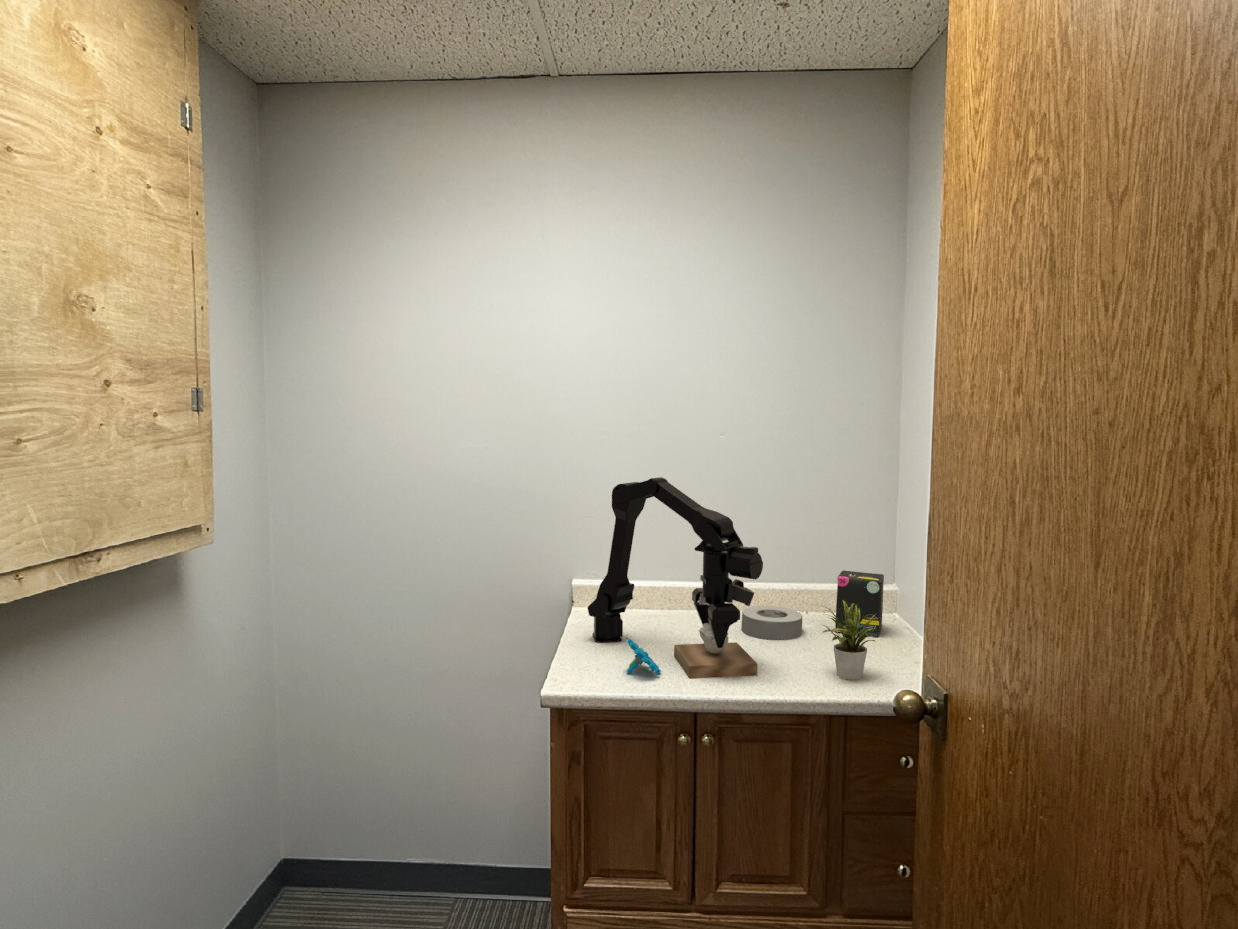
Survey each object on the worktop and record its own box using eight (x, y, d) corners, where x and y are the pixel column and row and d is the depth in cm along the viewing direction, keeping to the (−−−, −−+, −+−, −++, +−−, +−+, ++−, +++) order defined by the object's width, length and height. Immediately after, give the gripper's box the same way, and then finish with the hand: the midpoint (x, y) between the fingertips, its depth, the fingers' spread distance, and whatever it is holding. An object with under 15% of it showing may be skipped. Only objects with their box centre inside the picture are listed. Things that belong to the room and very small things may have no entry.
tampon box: (834, 632, 206) (836, 576, 205) (839, 623, 214) (841, 569, 213) (879, 638, 202) (881, 581, 201) (882, 628, 210) (884, 573, 209)
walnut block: (689, 682, 171) (689, 666, 171) (673, 659, 186) (674, 644, 186) (756, 679, 173) (757, 663, 173) (736, 657, 188) (736, 642, 188)
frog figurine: (693, 651, 181) (694, 620, 181) (721, 648, 183) (722, 618, 183) (705, 659, 175) (706, 627, 175) (734, 656, 178) (734, 625, 177)
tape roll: (810, 630, 209) (810, 611, 208) (789, 645, 196) (789, 624, 196) (755, 621, 217) (755, 602, 217) (731, 634, 204) (732, 615, 204)
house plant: (804, 663, 181) (806, 592, 180) (864, 663, 182) (866, 592, 181) (823, 686, 167) (826, 609, 166) (888, 685, 168) (891, 608, 167)
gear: (664, 674, 169) (631, 640, 169) (644, 694, 168) (611, 660, 169) (661, 664, 180) (630, 632, 180) (642, 683, 179) (611, 651, 180)
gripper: (764, 581, 170) (762, 653, 171) (738, 563, 188) (736, 628, 189) (713, 582, 168) (712, 655, 169) (692, 564, 187) (690, 630, 188)
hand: (714, 641), depth 179 cm, fingers open, 9 cm apart
